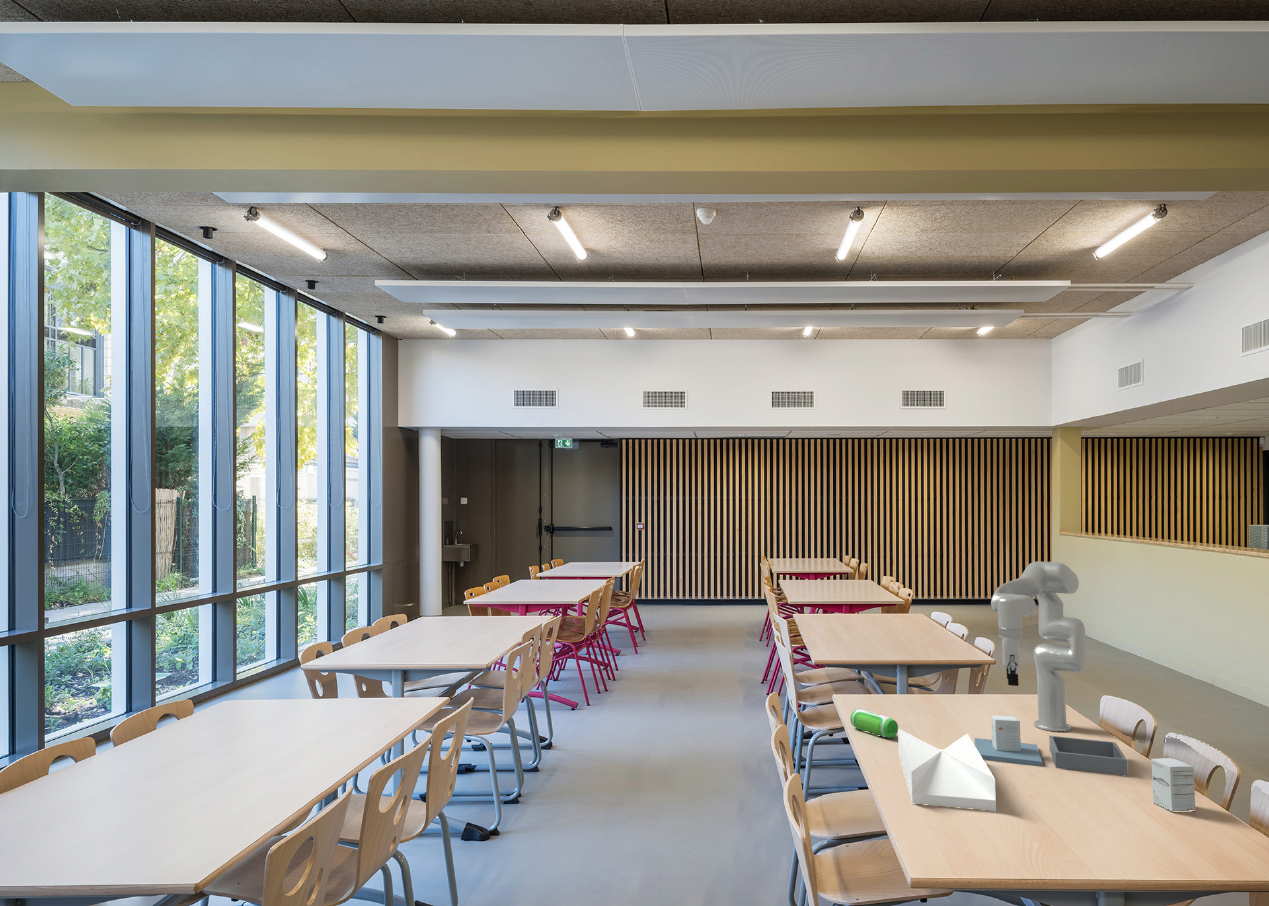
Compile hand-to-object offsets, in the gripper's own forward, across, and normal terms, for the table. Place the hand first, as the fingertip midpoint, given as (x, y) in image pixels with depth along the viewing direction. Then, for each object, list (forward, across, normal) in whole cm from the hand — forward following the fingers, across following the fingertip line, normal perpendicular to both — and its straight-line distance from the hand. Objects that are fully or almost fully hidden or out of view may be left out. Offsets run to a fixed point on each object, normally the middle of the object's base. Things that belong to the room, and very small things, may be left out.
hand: (1012, 682), depth 271 cm
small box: (+22, +4, -3) cm, 23 cm away
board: (+24, +4, -3) cm, 24 cm away
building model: (+23, +41, -22) cm, 52 cm away
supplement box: (+24, +38, +38) cm, 59 cm away
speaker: (+24, -3, -48) cm, 53 cm away
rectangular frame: (+24, +4, +21) cm, 32 cm away
